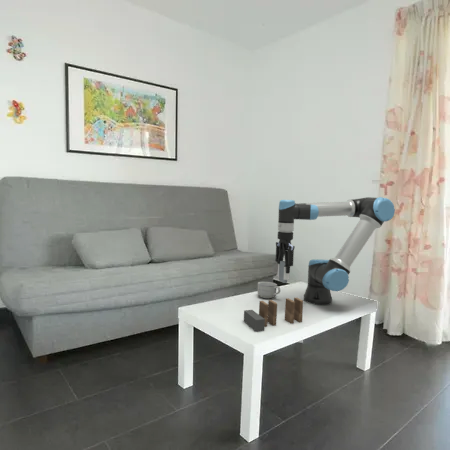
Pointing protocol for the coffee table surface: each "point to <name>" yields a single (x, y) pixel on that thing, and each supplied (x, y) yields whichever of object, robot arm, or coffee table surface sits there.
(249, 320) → the block
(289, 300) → the domino
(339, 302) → the coffee table surface
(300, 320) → the domino
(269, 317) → the domino
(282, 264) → the domino
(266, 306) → the domino
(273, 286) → the teacup
